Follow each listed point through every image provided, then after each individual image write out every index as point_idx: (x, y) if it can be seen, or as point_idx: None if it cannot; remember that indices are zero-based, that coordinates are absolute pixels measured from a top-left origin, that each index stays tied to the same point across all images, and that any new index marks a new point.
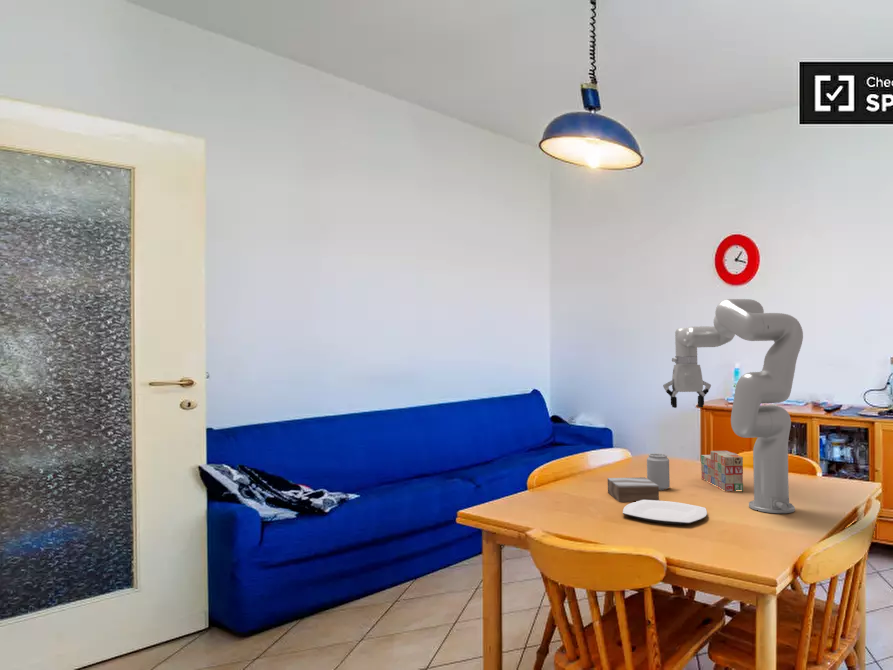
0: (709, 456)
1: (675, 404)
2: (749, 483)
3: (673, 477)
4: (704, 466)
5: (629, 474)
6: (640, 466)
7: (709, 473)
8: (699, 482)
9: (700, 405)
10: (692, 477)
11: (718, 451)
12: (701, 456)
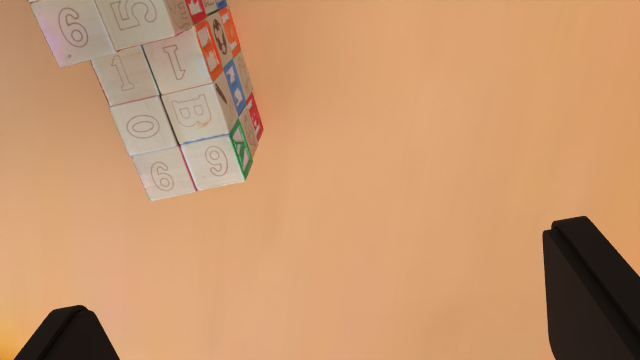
0: (195, 128)
1: (599, 249)
2: (44, 65)
3: (395, 147)
4: (239, 109)
5: (604, 184)
6: (500, 356)
7: (223, 32)
8: (282, 45)
9: (87, 343)
10: (303, 161)
11: (117, 18)
12: (242, 171)
